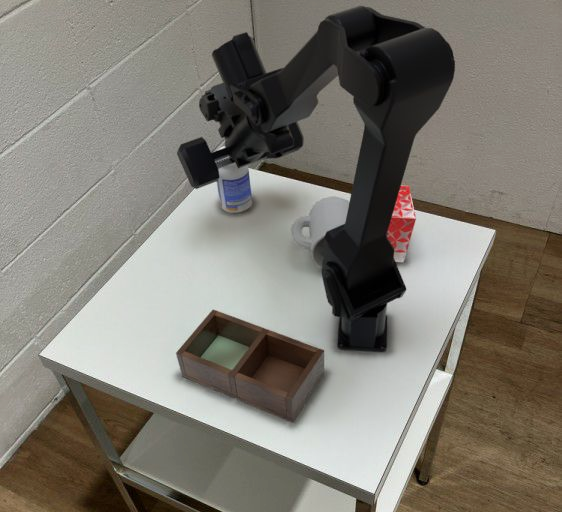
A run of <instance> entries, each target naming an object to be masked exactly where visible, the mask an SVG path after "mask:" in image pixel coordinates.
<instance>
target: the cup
mask: <svg viewBox="0 0 562 512" xmlns="http://www.w3.org/2000/svg"><path fill="white" fill-rule="evenodd" d="M349 202H350V201H349V200H347V199H345V198H344V197H341V196H340V197H339V196H327V197H324V198H322V199H319V200H318V201H317V202H315V204H313V205H312V207H311V208H310V210H309V213H308V215H303V216H299V217H297V218H296V219H295V220H294V221H293V223H292V225H291V227H290V233H291V237H292V240H293V242H294V243H295V244H296V245H297V246H298V247H300V248H302V249H306V250H310V252H311V253H310V256H311V259H312V262H313V264H315V266H316V267H318V268H319V269H320V270H322V261H323V256H321V252H322V251H323V248H324V236H325V234H326V232H327V231H329V230H331V229H334V228H336V227H338V226H340V225H343V224H345V222H346V217H347V212H348V207H349ZM303 228H308V231H309V237H307V236H305V234H303Z"/></svg>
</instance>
